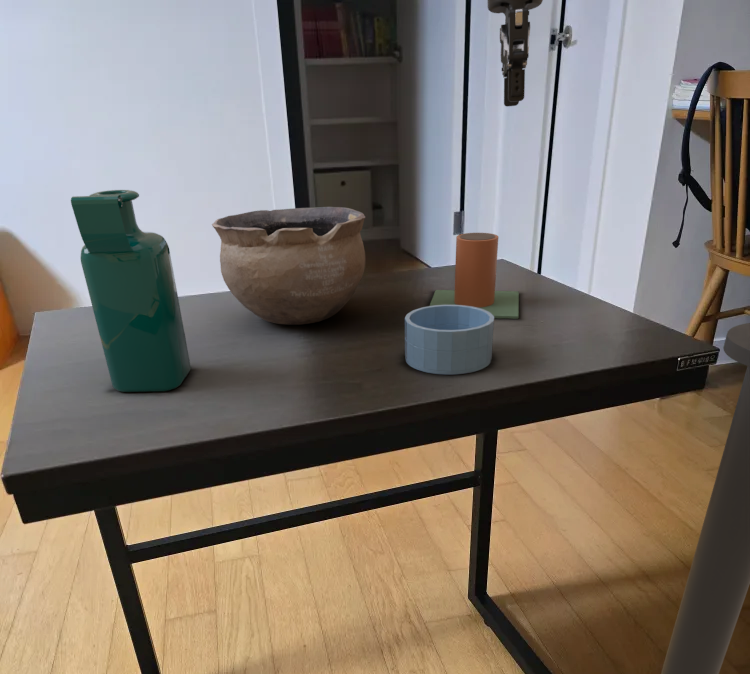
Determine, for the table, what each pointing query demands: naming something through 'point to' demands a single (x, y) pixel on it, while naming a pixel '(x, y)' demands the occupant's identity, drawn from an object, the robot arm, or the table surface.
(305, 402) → the table surface
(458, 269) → the small pot
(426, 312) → the big pot
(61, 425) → the table surface
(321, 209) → the ceramic bowl
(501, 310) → the mat
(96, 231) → the green detergent bottle
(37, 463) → the table surface
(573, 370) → the table surface
